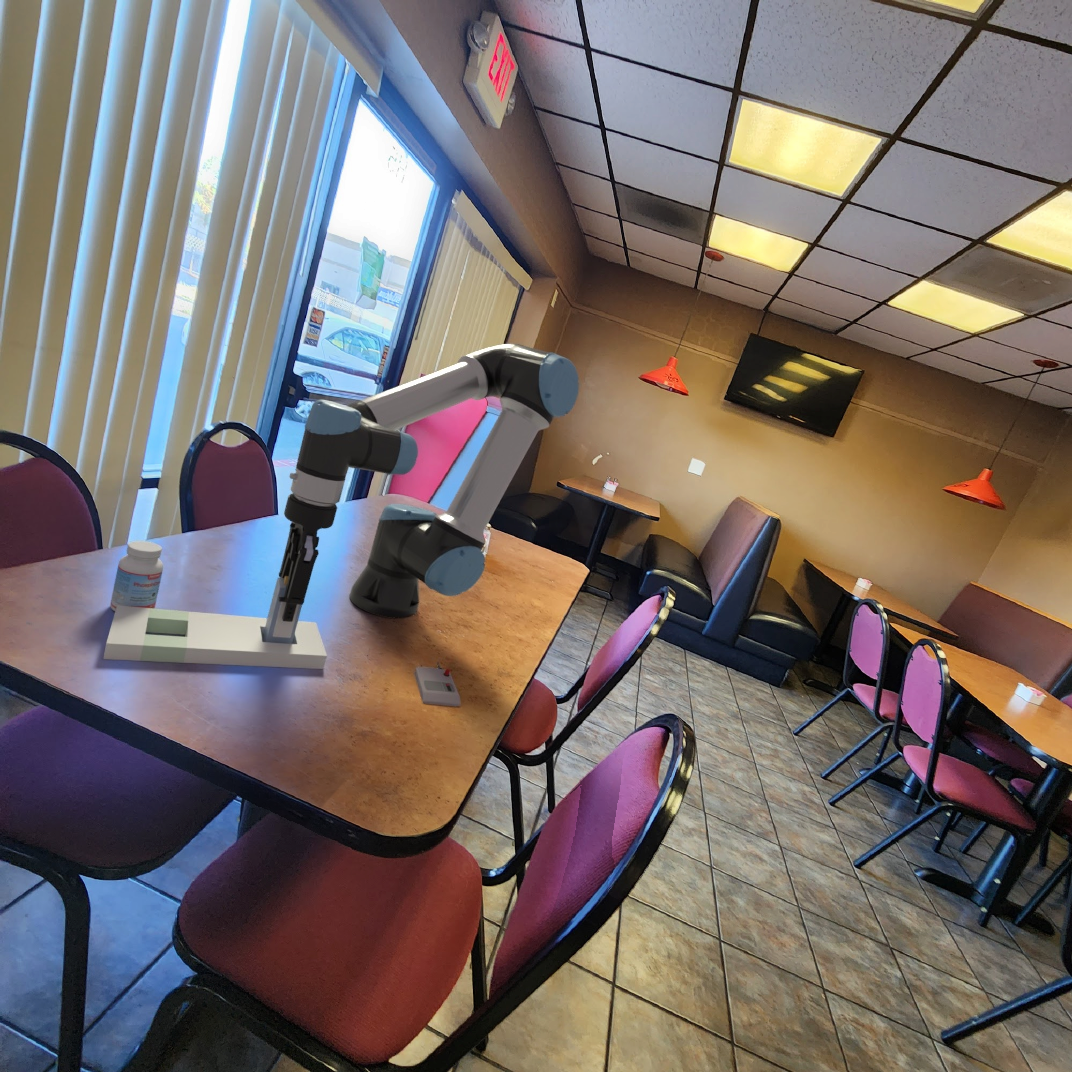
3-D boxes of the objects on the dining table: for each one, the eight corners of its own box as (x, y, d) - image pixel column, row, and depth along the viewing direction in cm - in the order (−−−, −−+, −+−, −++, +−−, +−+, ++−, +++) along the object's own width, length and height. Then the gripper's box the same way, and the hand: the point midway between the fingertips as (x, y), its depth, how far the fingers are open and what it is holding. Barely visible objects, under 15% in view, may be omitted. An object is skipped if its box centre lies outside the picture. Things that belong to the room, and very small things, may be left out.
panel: (312, 634, 107) (315, 622, 107) (323, 669, 97) (327, 655, 97) (114, 619, 91) (117, 605, 91) (103, 659, 81) (106, 643, 81)
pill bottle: (132, 621, 92) (145, 556, 90) (100, 607, 93) (112, 542, 91) (163, 610, 98) (176, 549, 96) (132, 597, 99) (144, 536, 97)
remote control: (423, 712, 96) (428, 696, 95) (409, 664, 110) (413, 649, 109) (461, 715, 99) (466, 700, 98) (443, 668, 113) (447, 654, 112)
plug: (286, 643, 101) (304, 575, 99) (288, 655, 98) (307, 584, 95) (261, 641, 99) (278, 572, 96) (263, 653, 96) (281, 581, 93)
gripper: (283, 479, 98) (252, 604, 103) (296, 510, 84) (259, 653, 89) (328, 488, 102) (297, 609, 107) (348, 519, 88) (310, 656, 93)
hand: (280, 629), depth 98 cm, fingers closed on plug, 4 cm apart
